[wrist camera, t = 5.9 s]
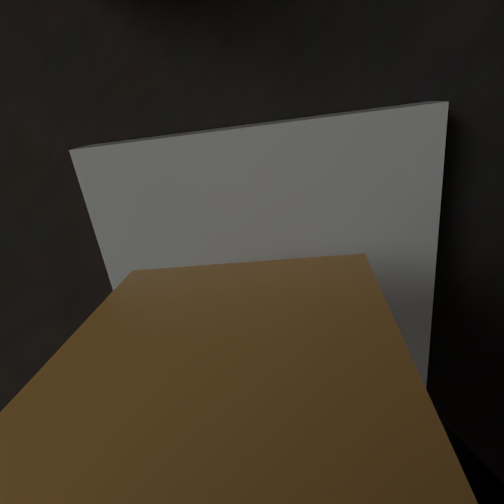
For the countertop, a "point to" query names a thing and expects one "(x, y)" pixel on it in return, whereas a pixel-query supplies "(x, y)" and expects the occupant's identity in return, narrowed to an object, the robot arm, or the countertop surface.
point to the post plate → (281, 200)
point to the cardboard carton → (232, 396)
